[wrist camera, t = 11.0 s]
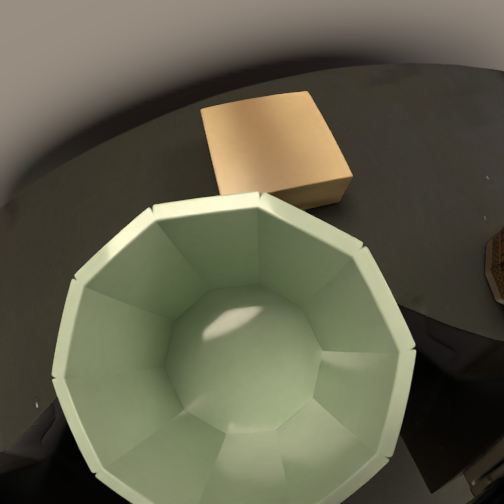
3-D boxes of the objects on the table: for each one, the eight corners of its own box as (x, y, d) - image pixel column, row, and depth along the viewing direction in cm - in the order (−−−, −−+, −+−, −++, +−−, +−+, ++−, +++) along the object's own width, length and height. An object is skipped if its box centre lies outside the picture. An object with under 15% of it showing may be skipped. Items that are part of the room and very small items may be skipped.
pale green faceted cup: (337, 293, 12) (423, 225, 5) (305, 450, 10) (353, 548, 3) (184, 263, 13) (111, 172, 6) (150, 416, 11) (45, 468, 4)
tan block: (302, 121, 22) (307, 90, 19) (339, 202, 20) (353, 176, 16) (207, 139, 22) (200, 108, 18) (228, 228, 19) (222, 204, 16)
